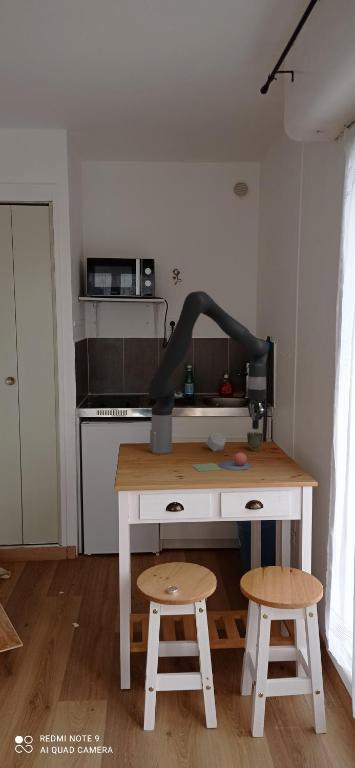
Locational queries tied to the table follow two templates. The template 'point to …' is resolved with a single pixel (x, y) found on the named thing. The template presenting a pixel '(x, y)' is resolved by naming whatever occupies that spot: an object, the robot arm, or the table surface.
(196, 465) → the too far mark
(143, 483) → the table surface
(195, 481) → the table surface
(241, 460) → the ball
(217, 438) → the die
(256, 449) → the cup
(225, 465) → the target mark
